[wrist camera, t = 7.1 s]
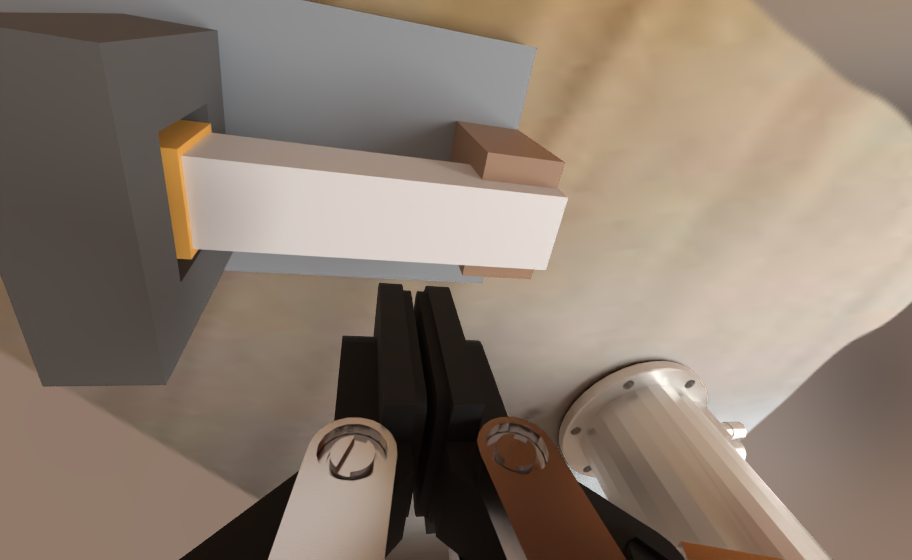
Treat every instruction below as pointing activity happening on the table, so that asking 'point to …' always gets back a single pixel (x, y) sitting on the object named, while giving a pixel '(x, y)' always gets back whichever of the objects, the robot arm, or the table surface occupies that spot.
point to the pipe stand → (354, 146)
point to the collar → (100, 191)
